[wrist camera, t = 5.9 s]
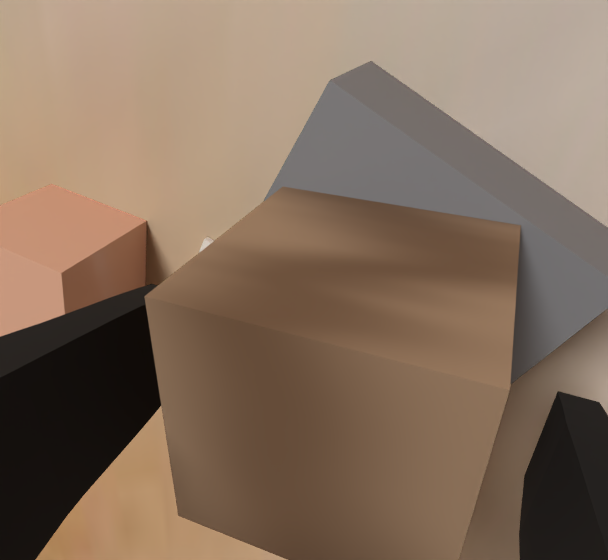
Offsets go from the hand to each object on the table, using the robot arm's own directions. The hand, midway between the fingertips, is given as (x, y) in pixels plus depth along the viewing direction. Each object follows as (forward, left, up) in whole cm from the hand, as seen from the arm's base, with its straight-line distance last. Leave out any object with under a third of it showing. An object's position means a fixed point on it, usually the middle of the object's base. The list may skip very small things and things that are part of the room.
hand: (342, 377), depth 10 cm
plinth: (0, 0, -6) cm, 6 cm away
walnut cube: (0, 0, -3) cm, 3 cm away
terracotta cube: (+9, +7, -6) cm, 13 cm away
